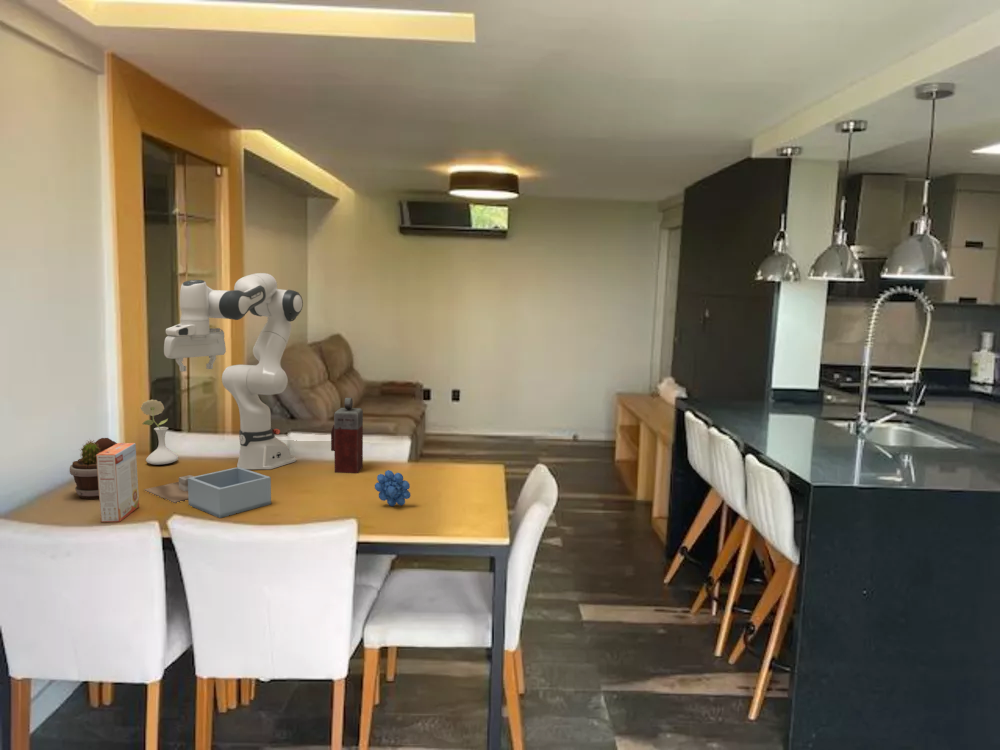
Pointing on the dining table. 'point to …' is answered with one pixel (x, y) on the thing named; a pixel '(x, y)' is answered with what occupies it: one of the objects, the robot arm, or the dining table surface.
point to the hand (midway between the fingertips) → (196, 370)
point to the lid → (172, 490)
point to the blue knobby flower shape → (392, 488)
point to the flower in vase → (162, 452)
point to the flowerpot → (86, 472)
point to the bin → (229, 491)
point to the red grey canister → (348, 438)
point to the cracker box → (117, 482)
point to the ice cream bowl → (104, 444)
